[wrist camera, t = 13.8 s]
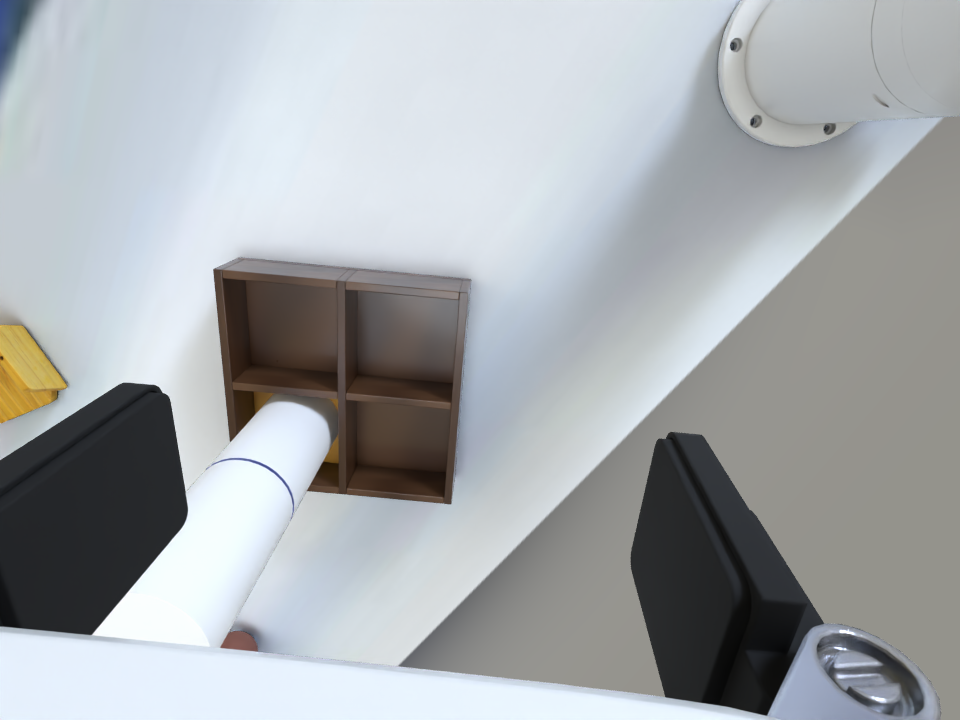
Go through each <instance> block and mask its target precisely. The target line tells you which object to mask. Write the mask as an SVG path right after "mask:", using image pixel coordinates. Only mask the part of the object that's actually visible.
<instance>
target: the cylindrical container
mask: <svg viewBox="0 0 960 720" xmlns="http://www.w3.org/2000/svg"><path fill="white" fill-rule="evenodd" d="M337 435H338V411H337V408H336V407H335V405H334V404H333V402H332V401H331V400H330V399H329V398H318V397H307V396H297V395H286V394H275V393H274V394H273V395H272V396H271V397H270V399H269V400H268V401H267V402H266V403H265V404H264V405H263V406H262V408H261V409H260V410H259V411H258V412H257V413H256V414H255V415H254V417H253V418H252V419H251V420H250V421H249V422H248V423H247V424H246V426H245V427H244V428H243V429H242V430H241V431H240V432H239V433H238V434H237V436H236V437H235V438H234V439H233V440H232V441H231V442H230V443H229V444H228V446H227V447H226V448H225V449H224V450H223V451H222V452H221V453H220V454H219V456H218V457H217V458H216V459H215V460H214V461H213V462H212V463H211V464H210V465H209V467H208V468H207V469H206V470H205V471H204V472H203V473H202V474H201V476H200V477H199V478H198V479H197V480H196V481H195V482H194V483H193V485H192V486H191V487H190V488H189V489H188V490H187V491H186V498H187V504H188V515H187V519H186V522H185V524H184V526H183V527H182V528H181V530H180V531H179V532H178V533H177V534H176V536H175V537H174V538H173V539H172V540H171V542H170V543H169V544H168V545H167V546H166V547H165V549H164V550H163V551H162V552H161V553H160V555H159V556H158V557H157V558H156V559H155V561H154V562H153V563H152V564H151V565H150V566H149V568H148V569H147V570H146V571H145V572H144V574H143V575H142V576H141V577H140V578H139V580H138V581H137V582H136V583H135V584H134V586H133V587H132V588H131V589H130V590H129V591H128V593H127V594H126V595H125V596H124V597H123V599H122V600H121V601H120V602H119V603H118V605H117V606H116V607H115V608H114V609H113V610H112V612H111V613H110V614H109V615H108V616H107V618H106V619H105V620H104V621H103V622H102V624H101V625H100V626H99V627H98V628H97V629H96V631H95V632H94V633H93V634H92V635H94V636H104V637H115V638H125V639H135V640H145V641H156V642H166V643H176V644H186V645H196V646H206V647H216V648H220V647H221V645H222V643H223V641H224V640H225V638H226V636H227V634H228V632H229V631H230V629H231V627H232V625H233V623H234V622H235V620H236V618H237V616H238V614H239V613H240V611H241V609H242V607H243V605H244V603H245V602H246V600H247V598H248V596H249V594H250V593H251V591H252V589H253V587H254V585H255V584H256V582H257V580H258V578H259V576H260V575H261V573H262V571H263V569H264V567H265V566H266V564H267V562H268V560H269V558H270V557H271V555H272V553H273V551H274V549H275V548H276V546H277V544H278V542H279V540H280V539H281V537H282V535H283V533H284V531H285V530H286V528H287V526H288V524H289V522H290V520H291V519H292V517H293V515H294V513H295V511H296V510H297V508H298V506H299V504H300V502H301V500H302V499H303V497H304V495H305V493H306V491H307V490H308V488H309V486H310V484H311V482H312V481H313V479H314V477H315V475H316V473H317V471H318V470H319V468H320V466H321V464H322V462H323V461H324V459H325V457H326V455H327V453H328V451H329V450H330V448H331V446H332V444H333V442H334V441H335V439H336V437H337Z"/></svg>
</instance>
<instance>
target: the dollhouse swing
mask: <svg viewBox="0 0 960 720" xmlns="http://www.w3.org/2000/svg"><path fill="white" fill-rule="evenodd" d="M66 388H67V385H66V384H65V382H64V381H63V379H62V378H61V376H60V375H59V374H58V372H57V371H56V370H55V368H54V367H53V366H52V364H51V363H50V361H49V360H48V359H47V358H46V356H45V355H44V353H43V352H42V351H41V349H40V348H39V347H38V345H37V344H36V342H35V341H34V340H33V339H32V337H31V336H30V335H29V333H28V332H27V331H26V329H25V328H24V327H23V326H18V325H0V423H3V422H5V421H8V420H11V419H13V418H15V417H18V416H20V415H23V414H25V413H28V412H30V411H32V410H34V409H37V408H40V407H42V406H44V405H47V404H49V403H51V402H53V401H55V400H56V399H57V390H63V389H66Z"/></svg>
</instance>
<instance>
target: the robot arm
mask: <svg viewBox="0 0 960 720" xmlns="http://www.w3.org/2000/svg"><path fill="white" fill-rule="evenodd" d="M731 43H733V44H734V50H733V51H732V50H731V49H730V44H731ZM718 79H719V88H720V92H721V95H722V99H723V102H724V105H725V107H726V108H727V110H728V112H729V114H730V116H731V118H732V119H733V120H734V121H735V122H736V124H737V125H738V126H739V127H740V128H741V129H742V130H743V131H744V132H746V133H747V134H748V135H750V136H751V137H752V138H754V139H757V140H759V141H761V142H763V143H766V144H770V145H775V146H780V147H802V146H811V145H814V144H817V143H821V142H824V141H827V140H829V139H831V138H833V137H835V136H837V135H839V134H842V133H844V132H845V131H846V130H848V129H849V128H851V127H852V126H853V125H855V124H856V123H858V122H859V121H878V120H896V119H915V118H933V117H953V116H960V0H741V1H740V3H739V4H738V6H737V7H736V9H735V10H734V12H733V13H732V16H731V18H730V20H729V22H728V25H727V27H726V29H725V32H724V35H723V39H722V43H721V47H720V50H719V60H718ZM752 118H753V119H754V123H753V125H750V120H751V119H752ZM824 126H826V130H825V131H824ZM187 515H188V504H187V498H186V492H185V486H184V480H183V474H182V468H181V462H180V456H179V450H178V444H177V438H176V432H175V426H174V420H173V414H172V408H171V402H170V399H169V397H168V395H166V394H164V393H162V391H161V389H160V388H159V387H158V386H156V385H147V384H135V383H122V384H120V385H118V386H116V387H115V388H113V389H112V390H110V391H108V392H107V393H105V394H104V395H102V396H101V397H99V398H97V399H96V400H94V401H93V402H91V403H90V404H88V405H86V406H85V407H83V408H82V409H80V410H79V411H77V412H75V413H74V414H72V415H71V416H69V417H68V418H66V419H64V420H63V421H61V422H60V423H58V424H57V425H55V426H53V427H52V428H50V429H49V430H47V431H46V432H44V433H42V434H41V435H39V436H38V437H36V438H35V439H33V440H31V441H30V442H28V443H27V444H25V445H24V446H22V447H20V448H19V449H17V450H16V451H14V452H13V453H11V454H9V455H8V456H6V457H5V458H3V459H2V460H0V720H940V717H941V708H940V699H939V697H938V695H937V693H936V691H935V689H934V687H933V685H932V683H931V681H930V680H929V679H928V678H927V677H926V675H925V674H924V673H923V672H922V671H921V670H920V668H919V667H918V666H917V665H916V664H915V663H914V662H913V661H911V660H910V659H909V658H908V657H907V656H905V655H904V654H903V653H902V652H901V651H900V650H898V649H897V648H895V647H893V646H892V645H890V644H888V643H887V642H885V641H884V640H882V639H880V638H879V637H877V636H874V635H872V634H870V633H867V632H865V631H863V630H860V629H858V628H854V627H850V626H846V625H842V624H824V623H823V621H822V619H821V618H820V616H819V614H818V613H817V611H816V610H815V608H814V607H813V605H812V603H811V602H810V600H809V599H808V597H807V595H806V594H805V593H804V591H803V589H802V588H801V586H800V584H799V583H798V581H797V580H796V578H795V576H794V575H793V573H792V572H791V570H790V569H789V567H788V565H787V564H786V562H785V561H784V559H783V557H782V556H781V554H780V553H779V551H778V550H777V548H776V546H775V545H774V544H773V542H772V540H771V539H770V537H769V535H768V534H767V532H766V531H765V529H764V527H763V526H762V524H761V523H760V521H759V520H758V518H757V516H756V515H755V514H754V513H753V512H752V511H751V510H749V508H748V507H747V505H746V504H745V502H744V501H743V499H742V497H741V496H740V494H739V492H738V491H737V489H736V488H735V486H734V485H733V483H732V481H731V480H730V478H729V476H728V475H727V473H726V472H725V470H724V469H723V467H722V465H721V464H720V462H719V461H718V459H717V457H716V456H715V454H714V452H713V451H712V449H711V448H710V446H709V444H708V443H707V441H706V440H705V438H704V437H703V436H702V435H697V434H686V433H675V432H670V433H669V434H668V435H667V437H666V439H658V440H657V442H656V445H655V448H654V453H653V457H652V462H651V466H650V471H649V475H648V479H647V484H646V488H645V493H644V497H643V502H642V506H641V510H640V515H639V519H638V524H637V528H636V532H635V537H634V541H633V546H632V551H631V570H632V574H633V578H634V582H635V585H636V589H637V593H638V596H639V600H640V604H641V608H642V611H643V615H644V619H645V622H646V626H647V630H648V634H649V637H650V641H651V645H652V649H653V652H654V656H655V660H656V664H657V667H658V671H659V675H660V679H661V682H662V686H663V690H664V694H665V697H659V696H652V695H645V694H638V693H630V692H621V691H612V690H603V689H594V688H585V687H577V686H570V685H562V684H554V683H545V682H536V681H527V680H517V679H509V678H499V677H489V676H480V675H471V674H463V673H453V672H444V671H435V670H426V669H417V668H408V667H399V666H389V665H380V664H370V663H361V662H351V661H342V660H332V659H323V658H313V657H303V656H294V655H284V654H274V653H265V652H255V651H245V650H235V649H225V648H216V647H206V646H196V645H186V644H176V643H166V642H156V641H145V640H135V639H125V638H115V637H104V636H94V635H92V634H93V633H94V632H95V631H96V629H97V628H98V627H99V626H100V625H101V624H102V622H103V621H104V620H105V619H106V618H107V616H108V615H109V614H110V613H111V612H112V610H113V609H114V608H115V607H116V606H117V605H118V603H119V602H120V601H121V600H122V599H123V597H124V596H125V595H126V594H127V593H128V591H129V590H130V589H131V588H132V587H133V586H134V584H135V583H136V582H137V581H138V580H139V578H140V577H141V576H142V575H143V574H144V572H145V571H146V570H147V569H148V568H149V566H150V565H151V564H152V563H153V562H154V561H155V559H156V558H157V557H158V556H159V555H160V553H161V552H162V551H163V550H164V549H165V547H166V546H167V545H168V544H169V543H170V542H171V540H172V539H173V538H174V537H175V536H176V534H177V533H178V532H179V531H180V530H181V528H182V527H183V526H184V524H185V522H186V519H187Z"/></svg>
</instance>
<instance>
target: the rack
mask: <svg viewBox="0 0 960 720" xmlns="http://www.w3.org/2000/svg"><path fill="white" fill-rule="evenodd" d="M213 271H214V282H215V292H216V302H217V313H218V323H219V333H220V344H221V354H222V364H223V375H224V385H225V395H226V406H227V416H228V426H229V437H230V442H231V441H232V440H233V439H234V438H235V437H236V436H237V434H238V433H239V432H240V431H241V430H242V429H243V428H244V427H245V426H246V424H247V423H248V422H249V421H250V420H251V419H252V418H253V417H254V415H255V414H256V413H257V412H258V411H259V410H260V409H261V408H262V406H263V405H264V404H265V403H266V402H267V401H268V400H269V399H270V397H271V396H272V395H273V394H274V393H275V394H286V395H297V396H307V397H318V398H329V399H330V400H331V401H332V402H333V404H334V405H335V407H336V408H337V411H338V435H337V437H336V439H335V441H334V442H333V444H332V446H331V448H330V450H329V451H328V453H327V455H326V457H325V459H324V461H323V462H322V464H321V466H320V468H319V470H318V471H317V473H316V475H315V477H314V479H313V481H312V482H311V484H310V486H309V488H308V490H307V491H314V492H324V493H335V494H347V495H358V496H369V497H379V498H390V499H401V500H412V501H422V502H433V503H444V504H451V503H452V496H453V488H454V481H455V471H456V459H457V447H458V435H459V423H460V411H461V399H462V386H463V374H464V362H465V350H466V338H467V326H468V314H469V301H470V289H471V279H464V278H453V277H442V276H432V275H421V274H410V273H399V272H389V271H378V270H367V269H357V268H346V267H335V266H325V265H314V264H303V263H293V262H282V261H271V260H260V259H250V258H237V259H235V260H233V261H230V262H228V263H226V264H224V265H221V266H219V267H217V268H215V269H213Z"/></svg>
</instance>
